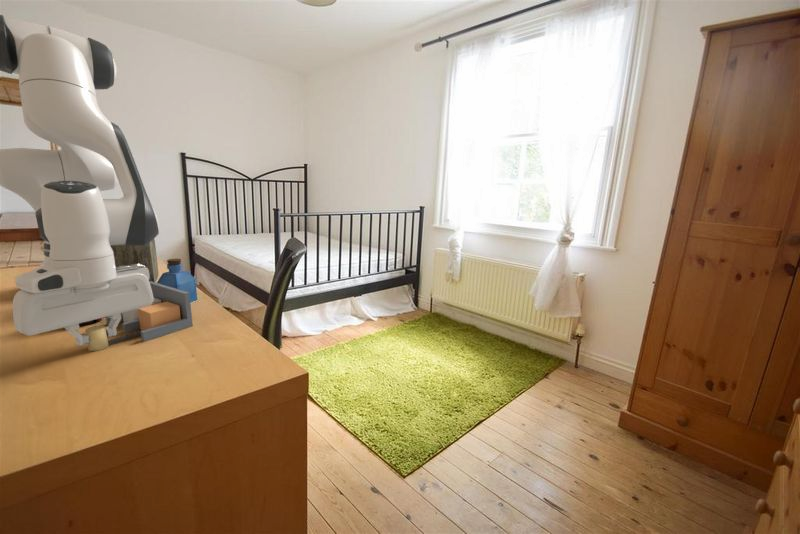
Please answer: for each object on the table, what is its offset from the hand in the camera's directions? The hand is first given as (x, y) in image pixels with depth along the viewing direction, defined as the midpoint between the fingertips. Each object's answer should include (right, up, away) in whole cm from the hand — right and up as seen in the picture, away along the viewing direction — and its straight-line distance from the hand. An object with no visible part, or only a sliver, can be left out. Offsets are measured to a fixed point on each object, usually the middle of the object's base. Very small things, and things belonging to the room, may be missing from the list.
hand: (97, 339), depth 68 cm
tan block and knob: (+3, 0, +6) cm, 7 cm away
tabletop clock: (-14, +6, +30) cm, 34 cm away
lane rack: (+2, +1, +11) cm, 12 cm away
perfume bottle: (-1, +4, +26) cm, 27 cm away
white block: (-1, +1, +14) cm, 14 cm away
